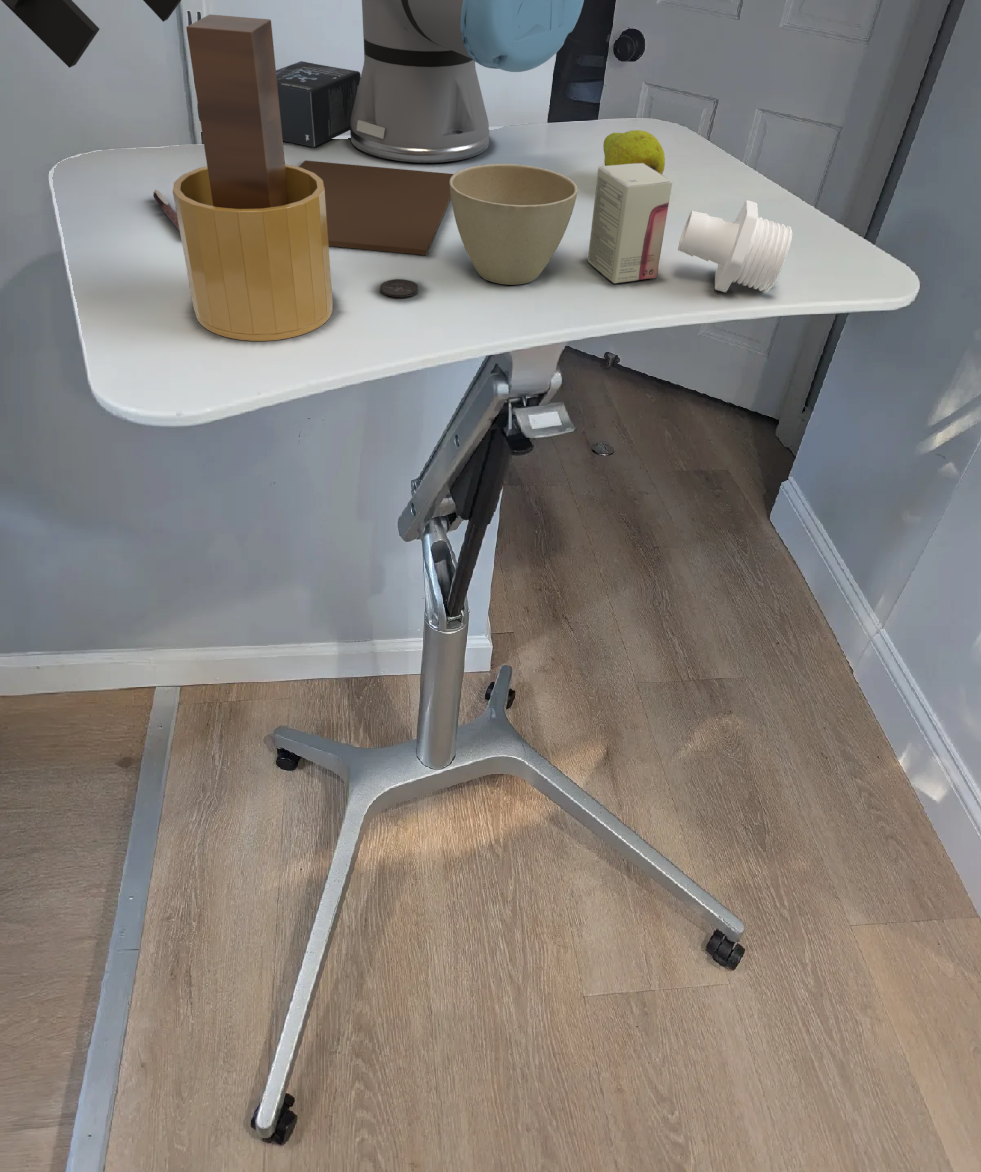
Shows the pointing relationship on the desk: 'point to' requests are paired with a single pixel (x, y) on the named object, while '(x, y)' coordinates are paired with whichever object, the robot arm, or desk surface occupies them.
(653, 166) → the fruit
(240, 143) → the block
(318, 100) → the box
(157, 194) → the pen
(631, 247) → the small box
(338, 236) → the mat
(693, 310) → the desk surface
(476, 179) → the bowl
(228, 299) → the wooden pot
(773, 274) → the pipe fitting
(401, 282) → the coin
